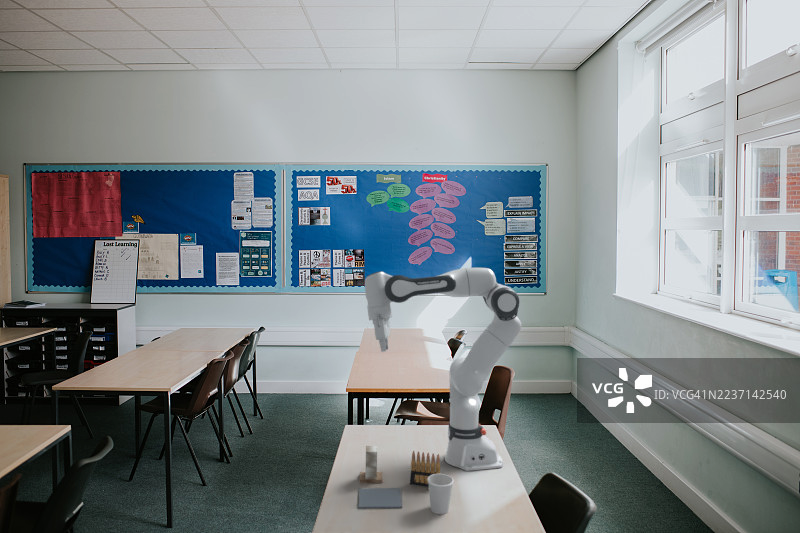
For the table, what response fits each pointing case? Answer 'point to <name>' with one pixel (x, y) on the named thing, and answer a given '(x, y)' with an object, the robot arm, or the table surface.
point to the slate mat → (379, 498)
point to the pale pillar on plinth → (371, 467)
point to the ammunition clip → (423, 469)
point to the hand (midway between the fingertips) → (384, 350)
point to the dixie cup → (440, 492)
